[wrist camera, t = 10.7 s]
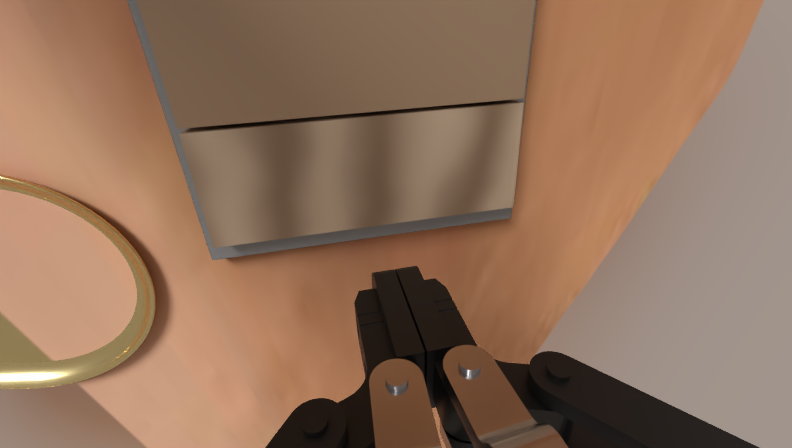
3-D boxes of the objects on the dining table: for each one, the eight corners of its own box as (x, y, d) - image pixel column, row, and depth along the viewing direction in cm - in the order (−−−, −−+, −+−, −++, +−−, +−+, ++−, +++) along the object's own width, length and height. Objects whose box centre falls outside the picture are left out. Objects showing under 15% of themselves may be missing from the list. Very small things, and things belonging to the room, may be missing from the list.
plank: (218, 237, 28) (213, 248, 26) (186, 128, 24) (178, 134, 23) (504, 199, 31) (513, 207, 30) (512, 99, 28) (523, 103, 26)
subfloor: (216, 249, 30) (207, 272, 27) (42, -300, 17) (-9, -361, 14) (503, 210, 34) (520, 227, 31) (553, -262, 20) (591, -304, 18)
